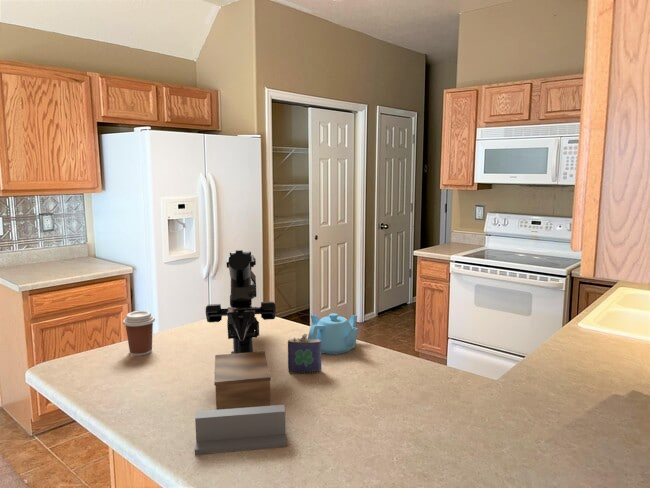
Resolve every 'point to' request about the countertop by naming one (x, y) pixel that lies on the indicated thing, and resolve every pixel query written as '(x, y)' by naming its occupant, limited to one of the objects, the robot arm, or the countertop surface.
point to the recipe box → (242, 380)
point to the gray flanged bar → (240, 429)
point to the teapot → (334, 333)
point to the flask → (304, 355)
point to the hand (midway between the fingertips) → (241, 340)
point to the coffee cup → (139, 332)
